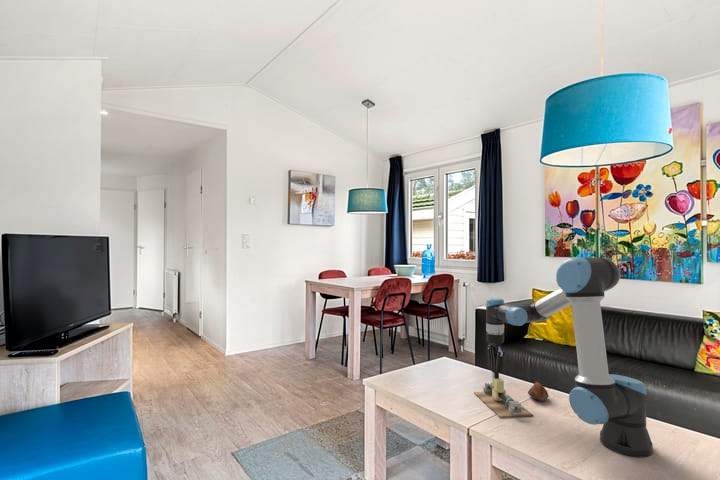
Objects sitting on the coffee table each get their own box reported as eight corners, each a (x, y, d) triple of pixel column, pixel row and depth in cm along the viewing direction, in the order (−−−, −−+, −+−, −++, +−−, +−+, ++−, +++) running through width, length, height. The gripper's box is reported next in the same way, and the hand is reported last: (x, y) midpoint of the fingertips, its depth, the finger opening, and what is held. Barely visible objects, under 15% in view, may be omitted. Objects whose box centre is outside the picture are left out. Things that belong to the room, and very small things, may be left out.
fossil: (539, 398, 168) (533, 374, 174) (522, 401, 174) (517, 378, 179) (555, 403, 174) (550, 380, 180) (538, 406, 180) (533, 383, 185)
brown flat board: (533, 416, 158) (533, 403, 158) (499, 418, 157) (499, 404, 157) (502, 392, 184) (502, 380, 184) (473, 393, 182) (473, 381, 182)
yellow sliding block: (505, 400, 171) (505, 381, 171) (496, 400, 170) (496, 381, 170) (501, 396, 175) (501, 378, 175) (492, 397, 174) (492, 378, 174)
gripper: (510, 336, 170) (510, 391, 170) (496, 329, 183) (496, 380, 183) (493, 336, 169) (493, 391, 169) (481, 330, 182) (481, 381, 182)
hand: (495, 385), depth 176 cm, fingers closed
